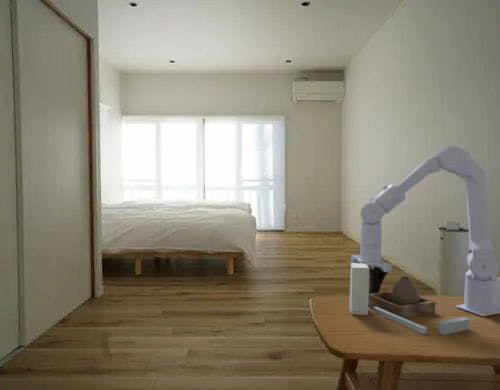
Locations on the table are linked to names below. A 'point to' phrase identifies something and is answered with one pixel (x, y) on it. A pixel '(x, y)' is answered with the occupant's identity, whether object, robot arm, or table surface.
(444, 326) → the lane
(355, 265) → the skincare box
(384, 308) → the wooden handled frame
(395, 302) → the vase
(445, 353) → the table surface
